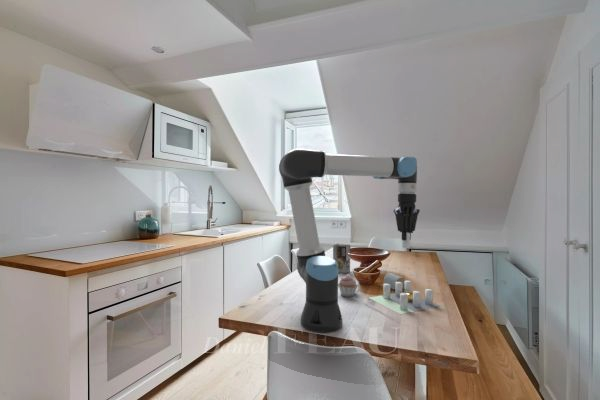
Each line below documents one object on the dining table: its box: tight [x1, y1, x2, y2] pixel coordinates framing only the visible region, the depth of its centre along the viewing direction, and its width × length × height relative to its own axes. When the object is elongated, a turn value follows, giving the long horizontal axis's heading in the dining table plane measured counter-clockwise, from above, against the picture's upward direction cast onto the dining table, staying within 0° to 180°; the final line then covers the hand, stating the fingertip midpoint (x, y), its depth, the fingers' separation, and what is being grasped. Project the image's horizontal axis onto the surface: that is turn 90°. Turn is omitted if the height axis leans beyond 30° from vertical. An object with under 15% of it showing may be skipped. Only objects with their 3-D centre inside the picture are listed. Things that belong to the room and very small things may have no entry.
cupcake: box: [338, 273, 359, 298], centre depth 140 cm, size 9×9×10 cm
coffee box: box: [332, 243, 351, 274], centre depth 183 cm, size 9×6×16 cm
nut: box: [405, 291, 413, 302], centre depth 131 cm, size 5×5×3 cm
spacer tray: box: [368, 280, 441, 315], centre depth 129 cm, size 22×20×7 cm
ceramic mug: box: [383, 272, 406, 291], centre depth 149 cm, size 11×8×8 cm
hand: (406, 247), depth 129 cm, fingers closed
